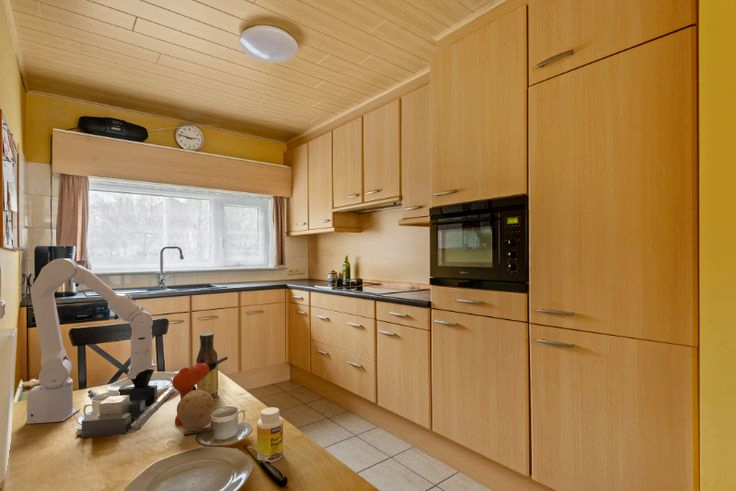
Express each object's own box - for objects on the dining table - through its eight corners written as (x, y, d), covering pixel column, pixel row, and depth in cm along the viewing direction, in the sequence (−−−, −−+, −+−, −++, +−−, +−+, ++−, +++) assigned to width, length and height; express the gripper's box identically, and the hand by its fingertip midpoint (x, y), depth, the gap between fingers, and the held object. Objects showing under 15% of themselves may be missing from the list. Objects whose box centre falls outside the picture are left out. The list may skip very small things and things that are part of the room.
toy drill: (237, 396, 117) (232, 349, 115) (183, 430, 100) (177, 375, 99) (225, 394, 119) (220, 347, 117) (171, 427, 102) (164, 372, 101)
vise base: (73, 438, 95) (73, 421, 95) (128, 394, 124) (128, 381, 124) (133, 433, 97) (133, 417, 97) (173, 391, 126) (173, 379, 126)
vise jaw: (100, 421, 104) (100, 402, 104) (121, 404, 115) (121, 387, 115) (140, 418, 105) (140, 400, 105) (157, 401, 117) (157, 385, 117)
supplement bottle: (271, 466, 81) (270, 417, 81) (251, 460, 84) (251, 412, 84) (288, 454, 86) (288, 408, 86) (269, 448, 89) (269, 403, 89)
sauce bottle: (202, 393, 124) (202, 331, 125) (221, 393, 124) (221, 331, 124) (192, 400, 118) (192, 335, 118) (212, 400, 118) (212, 335, 118)
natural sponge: (185, 422, 103) (184, 385, 103) (219, 420, 104) (219, 383, 104) (171, 439, 94) (171, 397, 94) (209, 436, 95) (208, 396, 95)
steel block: (99, 431, 98) (99, 403, 99) (109, 422, 103) (109, 396, 104) (120, 429, 99) (120, 402, 99) (129, 421, 104) (129, 395, 104)
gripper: (145, 356, 111) (146, 403, 111) (164, 344, 126) (164, 386, 126) (119, 357, 110) (119, 405, 110) (141, 345, 125) (141, 387, 124)
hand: (141, 395), depth 118 cm, fingers closed
